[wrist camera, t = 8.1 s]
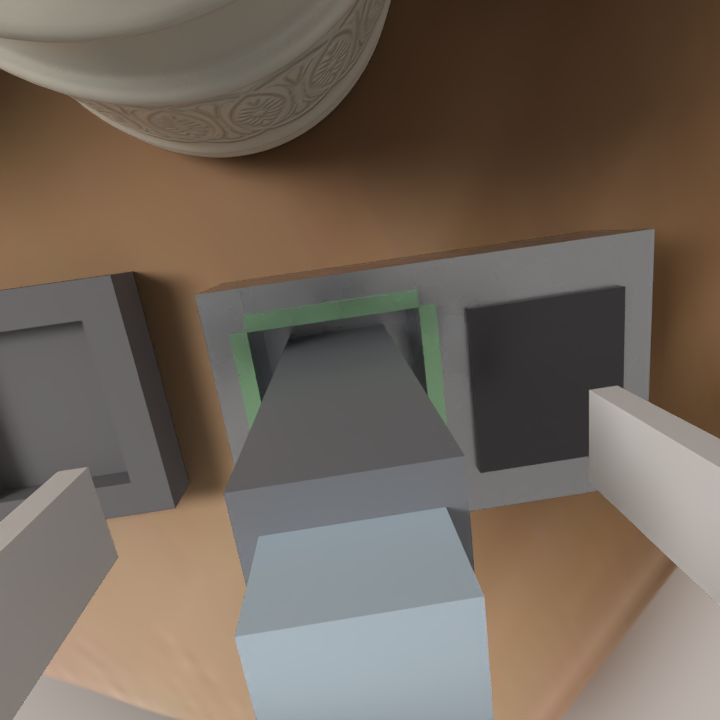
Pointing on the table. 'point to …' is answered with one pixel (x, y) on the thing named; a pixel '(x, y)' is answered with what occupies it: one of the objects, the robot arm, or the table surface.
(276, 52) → the jar
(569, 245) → the port panel
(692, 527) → the robot arm
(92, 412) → the holster
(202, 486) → the table surface
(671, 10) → the table surface
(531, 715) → the table surface
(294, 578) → the plug
